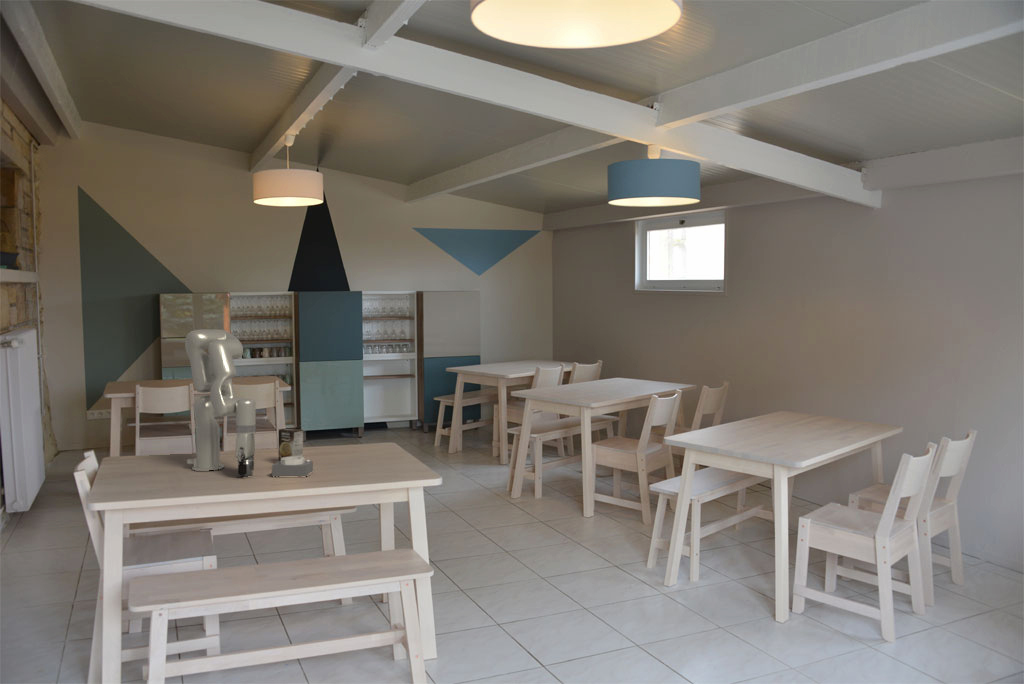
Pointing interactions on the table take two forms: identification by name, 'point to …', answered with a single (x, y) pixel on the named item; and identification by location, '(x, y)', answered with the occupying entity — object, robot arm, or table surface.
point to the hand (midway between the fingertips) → (246, 471)
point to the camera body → (292, 466)
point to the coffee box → (290, 442)
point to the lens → (248, 467)
